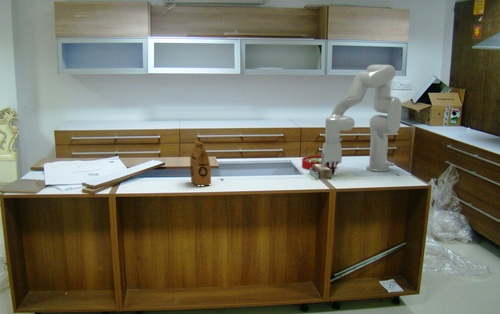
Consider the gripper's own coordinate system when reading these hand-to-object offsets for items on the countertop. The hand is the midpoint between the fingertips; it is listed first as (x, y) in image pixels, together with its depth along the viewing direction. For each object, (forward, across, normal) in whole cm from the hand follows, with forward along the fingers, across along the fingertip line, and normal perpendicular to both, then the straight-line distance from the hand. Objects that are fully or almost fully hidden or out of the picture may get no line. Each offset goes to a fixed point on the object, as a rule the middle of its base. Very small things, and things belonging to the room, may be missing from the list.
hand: (331, 173), depth 249 cm
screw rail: (+1, +10, 0) cm, 10 cm away
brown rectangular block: (+1, +6, 0) cm, 6 cm away
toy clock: (+3, 0, -21) cm, 21 cm away
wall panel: (+2, 0, 0) cm, 2 cm away
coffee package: (+1, +70, -2) cm, 70 cm away
